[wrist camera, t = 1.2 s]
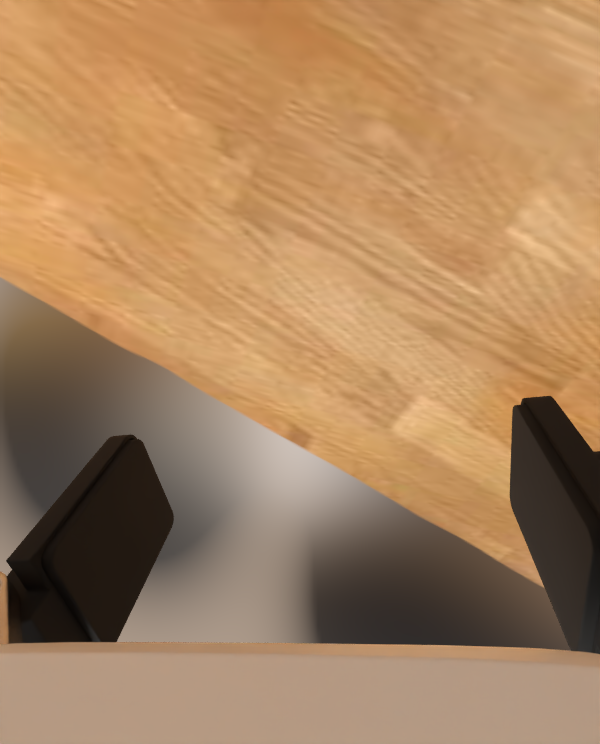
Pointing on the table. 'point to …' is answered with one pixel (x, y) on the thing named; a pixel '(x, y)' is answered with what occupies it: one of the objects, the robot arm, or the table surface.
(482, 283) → the table surface
